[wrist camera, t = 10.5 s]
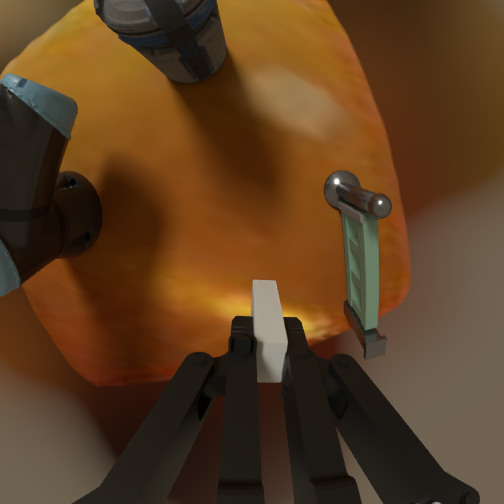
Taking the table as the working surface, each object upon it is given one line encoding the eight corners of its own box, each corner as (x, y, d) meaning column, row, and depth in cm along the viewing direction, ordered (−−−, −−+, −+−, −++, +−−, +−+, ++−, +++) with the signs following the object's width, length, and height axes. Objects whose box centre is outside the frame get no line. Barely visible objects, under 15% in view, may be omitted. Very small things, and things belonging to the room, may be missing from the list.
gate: (337, 202, 40) (360, 215, 31) (353, 199, 40) (378, 212, 31) (345, 301, 46) (363, 330, 37) (359, 298, 45) (379, 326, 37)
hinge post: (326, 211, 41) (362, 240, 27) (321, 173, 39) (357, 183, 25) (361, 205, 41) (408, 231, 27) (357, 168, 39) (406, 178, 25)
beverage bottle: (184, 110, 36) (101, 60, 12) (150, 47, 32) (67, -28, 8) (246, 79, 34) (243, -14, 11) (208, 18, 30) (174, -85, 7)
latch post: (342, 314, 48) (365, 359, 36) (341, 299, 47) (366, 344, 35) (358, 310, 48) (384, 354, 35) (358, 296, 46) (386, 338, 34)
